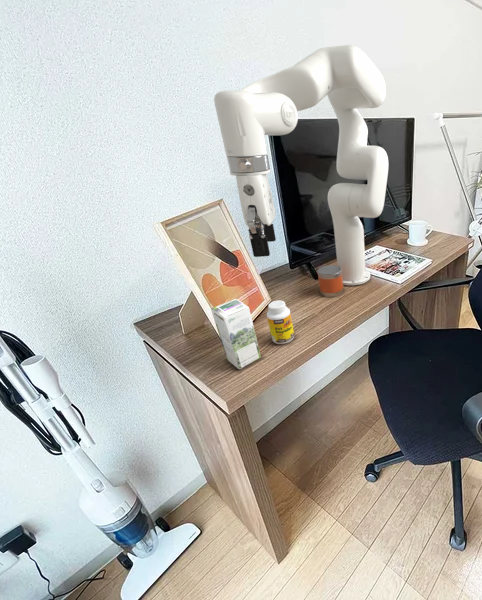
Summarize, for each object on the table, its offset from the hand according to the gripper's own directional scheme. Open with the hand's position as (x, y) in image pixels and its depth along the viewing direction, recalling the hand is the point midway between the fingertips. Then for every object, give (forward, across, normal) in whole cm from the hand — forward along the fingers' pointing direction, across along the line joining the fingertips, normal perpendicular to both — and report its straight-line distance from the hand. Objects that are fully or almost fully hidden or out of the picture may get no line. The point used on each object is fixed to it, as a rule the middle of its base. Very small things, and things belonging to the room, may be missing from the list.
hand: (265, 248), depth 72 cm
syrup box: (+24, -8, +8) cm, 27 cm away
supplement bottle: (+24, -1, 0) cm, 24 cm away
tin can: (+24, +23, -13) cm, 35 cm away
